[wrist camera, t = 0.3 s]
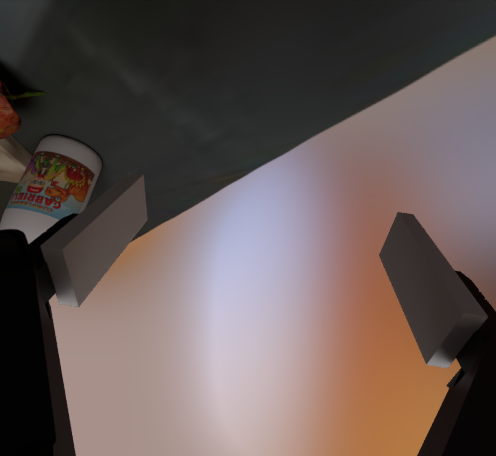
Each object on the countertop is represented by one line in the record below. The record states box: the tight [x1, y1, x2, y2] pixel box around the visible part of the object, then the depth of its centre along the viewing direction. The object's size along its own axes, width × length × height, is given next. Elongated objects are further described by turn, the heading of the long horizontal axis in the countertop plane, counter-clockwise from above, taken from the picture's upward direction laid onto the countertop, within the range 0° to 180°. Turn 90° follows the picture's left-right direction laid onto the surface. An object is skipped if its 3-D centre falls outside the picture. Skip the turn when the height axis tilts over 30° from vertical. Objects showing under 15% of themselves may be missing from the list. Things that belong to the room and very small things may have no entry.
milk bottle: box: [0, 135, 102, 244], centre depth 37 cm, size 8×8×20 cm
